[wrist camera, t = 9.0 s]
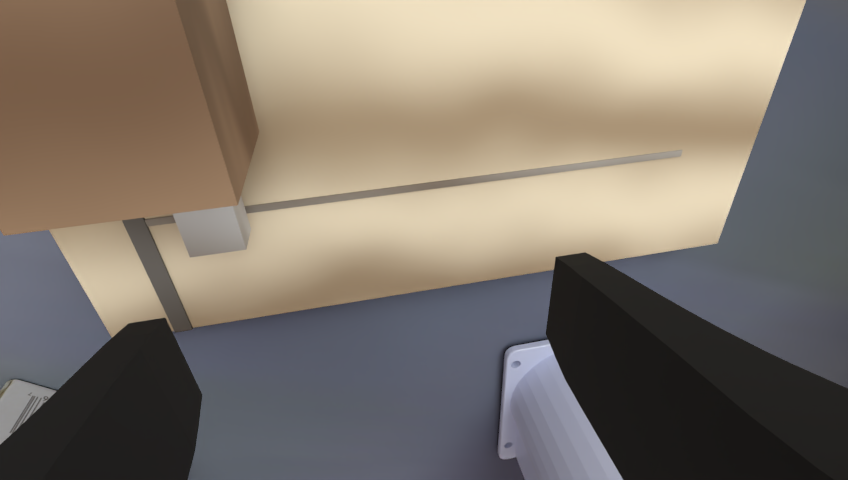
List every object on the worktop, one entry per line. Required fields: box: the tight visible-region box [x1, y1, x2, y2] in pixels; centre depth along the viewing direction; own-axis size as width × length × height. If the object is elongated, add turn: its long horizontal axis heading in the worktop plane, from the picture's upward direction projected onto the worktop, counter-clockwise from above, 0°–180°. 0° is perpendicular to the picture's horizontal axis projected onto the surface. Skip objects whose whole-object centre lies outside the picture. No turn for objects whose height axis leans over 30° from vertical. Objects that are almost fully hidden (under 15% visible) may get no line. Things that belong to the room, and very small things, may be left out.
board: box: [49, 0, 806, 338], centre depth 16 cm, size 12×24×2 cm, turn 92°
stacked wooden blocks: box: [0, 0, 259, 258], centre depth 11 cm, size 10×5×7 cm, turn 2°
